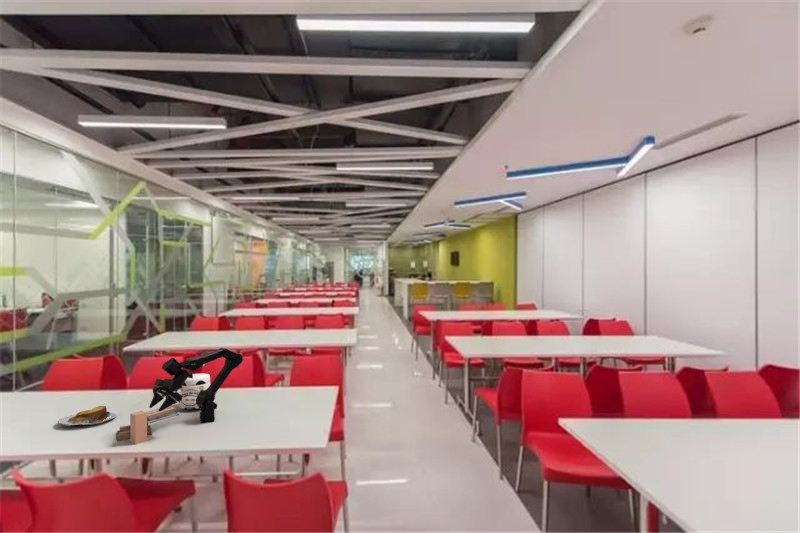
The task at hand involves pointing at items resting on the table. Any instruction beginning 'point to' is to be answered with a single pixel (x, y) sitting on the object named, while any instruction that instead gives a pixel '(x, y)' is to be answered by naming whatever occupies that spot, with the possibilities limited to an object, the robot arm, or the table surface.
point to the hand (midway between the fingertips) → (154, 409)
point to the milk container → (193, 390)
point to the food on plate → (88, 417)
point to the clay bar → (138, 427)
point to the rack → (125, 432)
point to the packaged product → (161, 414)
